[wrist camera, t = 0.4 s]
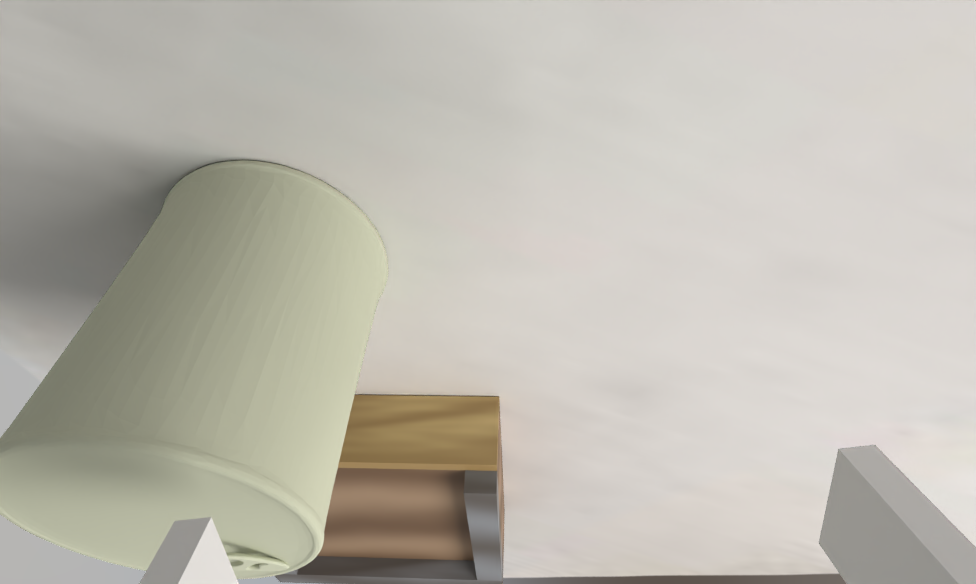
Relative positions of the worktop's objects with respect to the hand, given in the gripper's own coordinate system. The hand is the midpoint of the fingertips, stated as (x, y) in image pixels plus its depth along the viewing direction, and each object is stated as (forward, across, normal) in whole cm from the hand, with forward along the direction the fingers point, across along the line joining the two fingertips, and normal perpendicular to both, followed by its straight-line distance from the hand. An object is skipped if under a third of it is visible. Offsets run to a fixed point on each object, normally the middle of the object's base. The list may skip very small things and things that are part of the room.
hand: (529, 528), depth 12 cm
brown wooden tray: (+20, -8, -15) cm, 26 cm away
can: (+14, -9, +2) cm, 17 cm away
